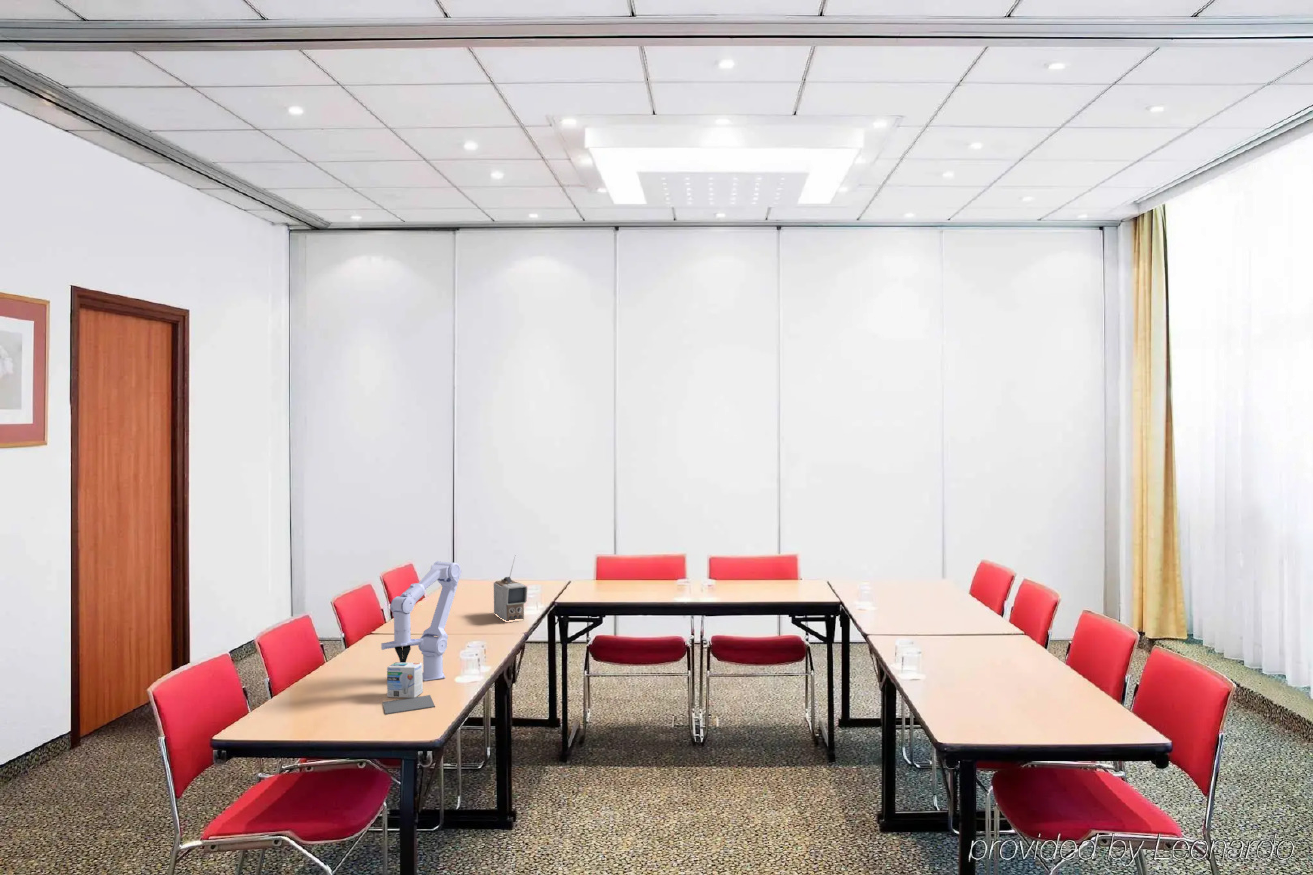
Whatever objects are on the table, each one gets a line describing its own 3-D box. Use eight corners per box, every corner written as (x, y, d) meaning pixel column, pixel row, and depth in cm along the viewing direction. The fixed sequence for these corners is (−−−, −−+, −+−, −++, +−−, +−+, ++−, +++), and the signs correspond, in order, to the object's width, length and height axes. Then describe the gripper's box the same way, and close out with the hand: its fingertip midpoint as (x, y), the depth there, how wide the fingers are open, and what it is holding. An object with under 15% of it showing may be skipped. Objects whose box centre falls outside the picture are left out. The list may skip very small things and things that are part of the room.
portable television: (507, 625, 374) (506, 563, 374) (492, 614, 395) (491, 556, 394) (530, 621, 380) (530, 561, 379) (515, 611, 401) (514, 554, 400)
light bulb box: (386, 697, 273) (386, 666, 273) (395, 691, 280) (395, 661, 280) (415, 698, 272) (414, 667, 272) (423, 692, 278) (423, 662, 279)
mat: (382, 703, 268) (382, 701, 268) (430, 696, 275) (430, 695, 275) (385, 714, 257) (385, 713, 257) (434, 707, 264) (434, 706, 264)
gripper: (382, 634, 275) (382, 672, 275) (424, 629, 281) (424, 667, 281) (380, 629, 282) (381, 666, 282) (421, 625, 288) (422, 661, 288)
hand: (402, 666), depth 282 cm, fingers closed
